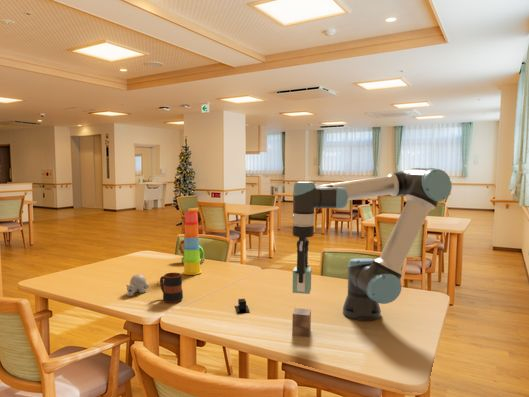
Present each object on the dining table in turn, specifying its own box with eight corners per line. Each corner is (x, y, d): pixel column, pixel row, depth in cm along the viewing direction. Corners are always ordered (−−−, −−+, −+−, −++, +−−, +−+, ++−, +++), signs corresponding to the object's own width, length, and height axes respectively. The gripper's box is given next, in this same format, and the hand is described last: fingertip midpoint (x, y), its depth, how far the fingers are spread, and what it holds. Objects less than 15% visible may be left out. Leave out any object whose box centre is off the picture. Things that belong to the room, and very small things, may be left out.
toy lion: (205, 261, 249) (204, 237, 248) (202, 264, 244) (202, 239, 242) (180, 260, 252) (180, 236, 250) (177, 262, 246) (177, 238, 245)
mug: (167, 294, 187) (167, 270, 186) (186, 299, 180) (186, 273, 179) (153, 299, 179) (153, 274, 178) (173, 304, 173) (173, 278, 172)
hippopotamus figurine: (123, 300, 185) (117, 286, 182) (140, 284, 195) (134, 270, 192) (135, 302, 182) (129, 288, 179) (151, 286, 192) (146, 272, 188)
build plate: (232, 306, 174) (232, 295, 174) (248, 305, 175) (248, 294, 175) (235, 316, 162) (235, 305, 161) (253, 315, 163) (253, 304, 163)
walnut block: (310, 330, 148) (310, 309, 147) (308, 337, 142) (309, 315, 141) (294, 328, 149) (294, 308, 148) (292, 335, 143) (292, 313, 143)
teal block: (310, 288, 146) (311, 267, 146) (309, 294, 141) (309, 271, 140) (294, 287, 148) (295, 266, 147) (292, 292, 142) (292, 270, 141)
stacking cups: (179, 274, 219) (179, 212, 216) (187, 270, 229) (186, 210, 226) (197, 276, 217) (197, 213, 214) (204, 271, 227) (204, 211, 224)
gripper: (296, 220, 152) (295, 280, 154) (288, 228, 134) (287, 295, 136) (316, 221, 151) (314, 281, 153) (311, 229, 132) (309, 297, 134)
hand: (302, 288), depth 144 cm, fingers closed on teal block, 6 cm apart
